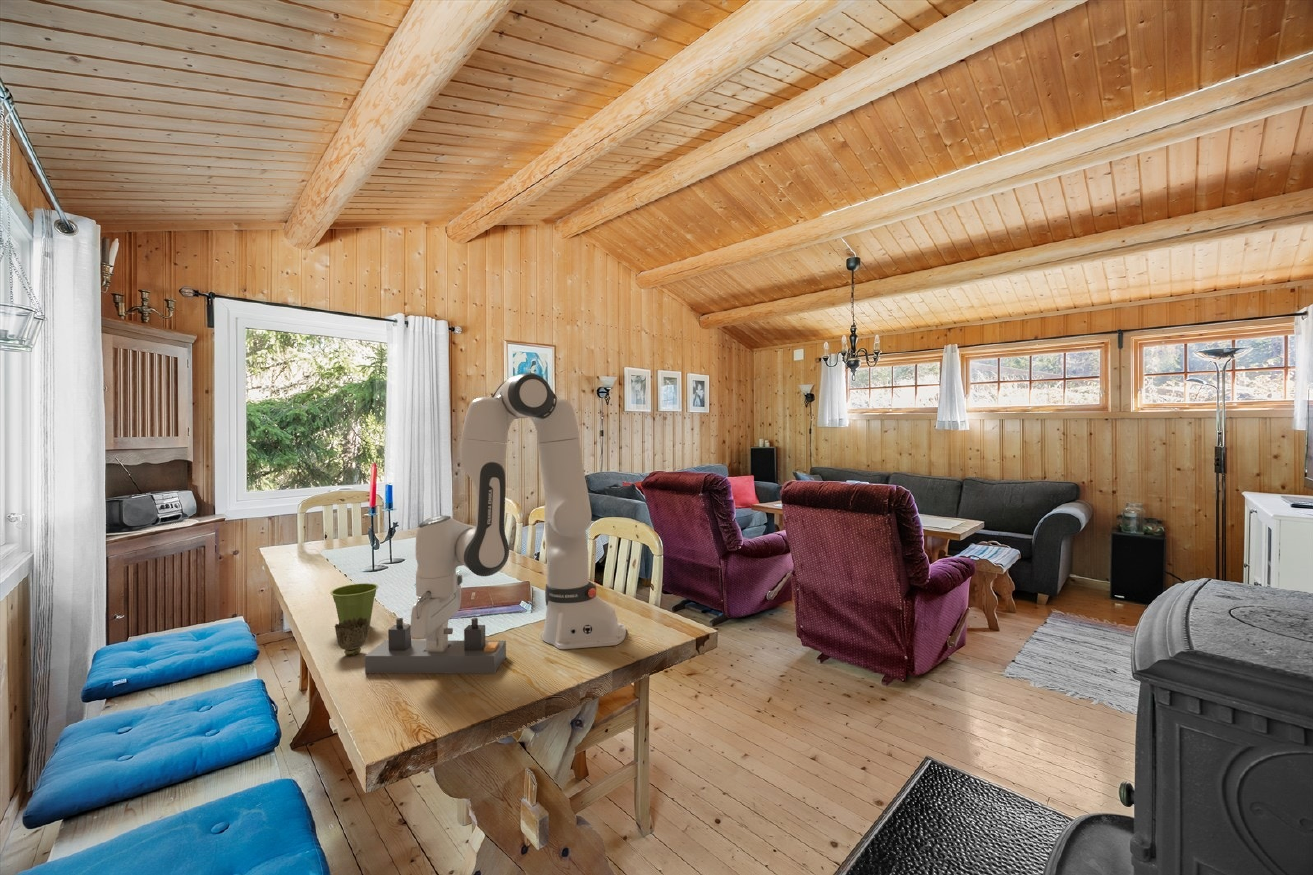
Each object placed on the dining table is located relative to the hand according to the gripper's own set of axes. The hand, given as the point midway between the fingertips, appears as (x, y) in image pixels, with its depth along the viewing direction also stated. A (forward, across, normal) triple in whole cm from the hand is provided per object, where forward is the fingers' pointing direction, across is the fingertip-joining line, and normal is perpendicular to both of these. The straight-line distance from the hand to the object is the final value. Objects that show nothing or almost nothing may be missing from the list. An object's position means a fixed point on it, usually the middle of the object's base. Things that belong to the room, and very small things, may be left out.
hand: (437, 643), depth 131 cm
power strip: (+5, 0, 0) cm, 5 cm away
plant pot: (+5, +23, +33) cm, 41 cm away
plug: (+3, 0, 0) cm, 3 cm away
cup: (+5, +6, +24) cm, 25 cm away
